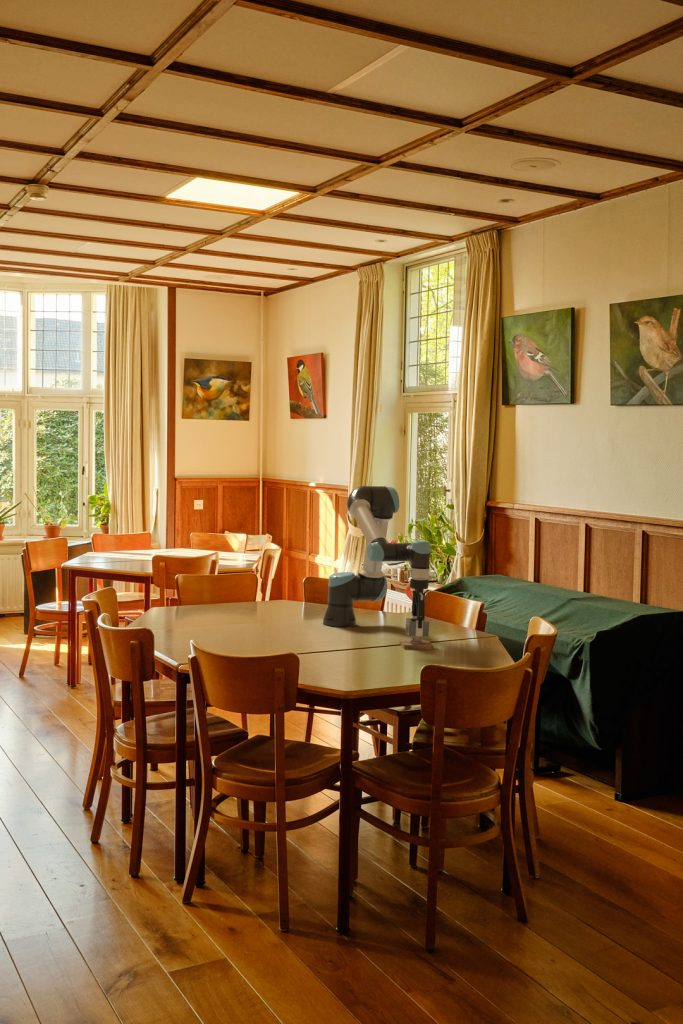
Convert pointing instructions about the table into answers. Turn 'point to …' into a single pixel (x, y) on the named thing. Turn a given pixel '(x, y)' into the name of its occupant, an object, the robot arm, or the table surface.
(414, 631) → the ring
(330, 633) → the table surface
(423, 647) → the post block
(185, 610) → the table surface
